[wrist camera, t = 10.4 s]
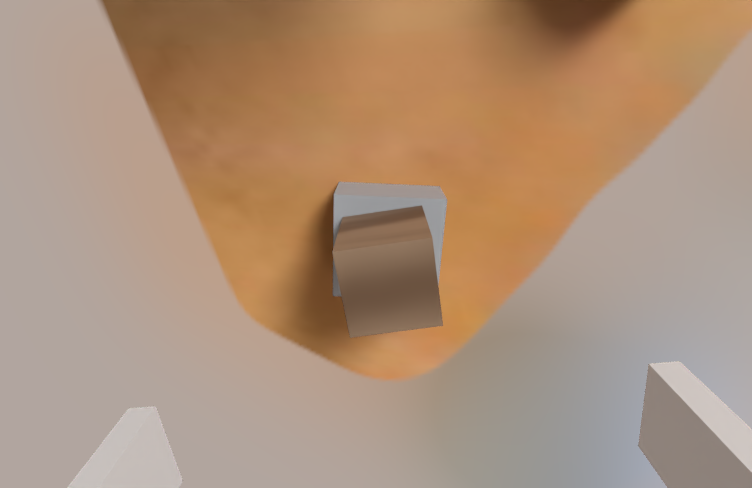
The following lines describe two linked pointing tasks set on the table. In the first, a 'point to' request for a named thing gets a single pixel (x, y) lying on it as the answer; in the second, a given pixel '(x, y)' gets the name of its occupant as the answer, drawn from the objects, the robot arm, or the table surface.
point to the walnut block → (387, 272)
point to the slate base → (390, 197)
